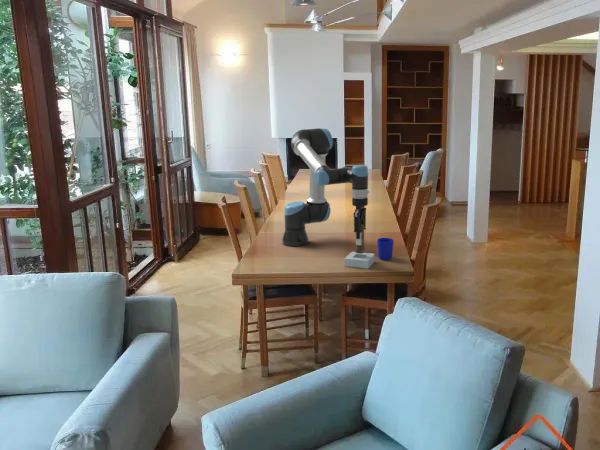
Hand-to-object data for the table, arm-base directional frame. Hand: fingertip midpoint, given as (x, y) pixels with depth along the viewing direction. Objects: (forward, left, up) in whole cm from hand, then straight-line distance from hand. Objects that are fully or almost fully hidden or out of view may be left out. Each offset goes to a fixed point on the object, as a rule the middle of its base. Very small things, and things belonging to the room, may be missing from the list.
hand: (360, 243), depth 255 cm
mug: (+9, +14, -11) cm, 20 cm away
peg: (0, 0, -5) cm, 5 cm away
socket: (0, 0, -11) cm, 11 cm away
